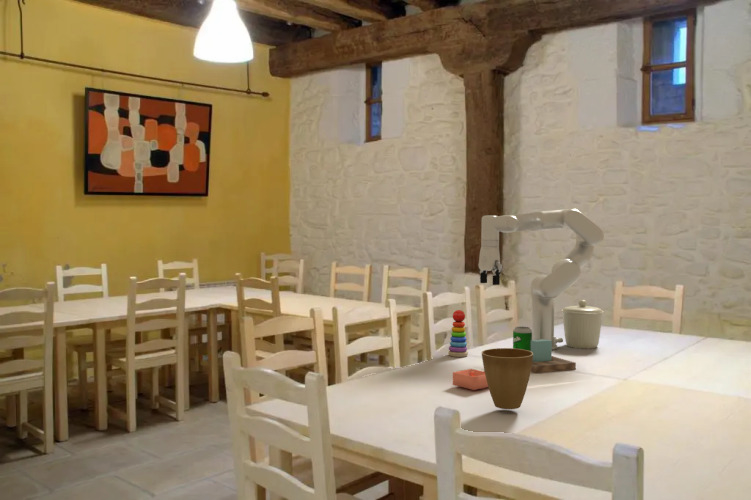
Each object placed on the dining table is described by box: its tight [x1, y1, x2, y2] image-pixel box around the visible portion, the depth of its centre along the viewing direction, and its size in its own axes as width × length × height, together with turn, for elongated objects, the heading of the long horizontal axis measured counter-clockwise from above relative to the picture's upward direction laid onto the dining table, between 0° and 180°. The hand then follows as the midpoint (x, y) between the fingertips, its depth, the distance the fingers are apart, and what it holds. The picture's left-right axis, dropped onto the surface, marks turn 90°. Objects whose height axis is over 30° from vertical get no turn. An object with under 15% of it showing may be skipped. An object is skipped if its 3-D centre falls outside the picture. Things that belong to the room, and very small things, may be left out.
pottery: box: [452, 368, 489, 391], centre depth 232 cm, size 18×10×10 cm, turn 131°
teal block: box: [531, 339, 552, 362], centre depth 260 cm, size 4×7×10 cm, turn 113°
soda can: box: [512, 326, 532, 351], centre depth 279 cm, size 8×8×12 cm
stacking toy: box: [448, 309, 469, 358], centre depth 281 cm, size 8×8×19 cm
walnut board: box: [530, 356, 577, 374], centre depth 260 cm, size 18×18×4 cm
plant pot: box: [481, 347, 533, 410], centre depth 201 cm, size 15×15×16 cm
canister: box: [560, 299, 605, 350], centre depth 301 cm, size 18×18×21 cm
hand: (489, 283), depth 295 cm, fingers open, 9 cm apart
